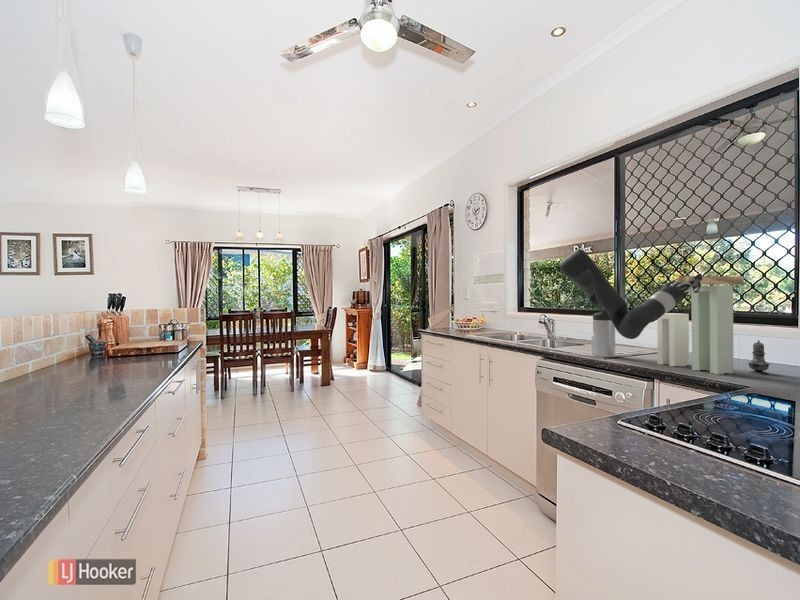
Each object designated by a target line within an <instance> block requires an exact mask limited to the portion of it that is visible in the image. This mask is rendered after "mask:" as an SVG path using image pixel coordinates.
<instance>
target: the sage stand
mask: <svg viewBox="0 0 800 600" xmlns="http://www.w3.org/2000/svg"><path fill="white" fill-rule="evenodd" d="M690 295H691V297H690V298H691V305H690V306H691V370H692V371H694V370H698V371H697V372H701V371H700V370H707V371H709V372H710V373H709V374H711V373H715V374H714V375H717V374H719V375H725V374H724V373H729V374H734V372H735V371H734V362H735V361H734V285H701V288H700V290H699V292H698V293H694V292H693V291H692V292H690Z"/></svg>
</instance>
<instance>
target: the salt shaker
mask: <svg viewBox="0 0 800 600" xmlns="http://www.w3.org/2000/svg"><path fill="white" fill-rule="evenodd" d="M752 348H753V349H752V352H751V353H752V360H751V361H748V362H747V364H748V366H749V368H750V369H751V370H750V371H748V373H749V374H754V375H761V376H762V375H763V376H765V375H767V376H769V375H770V374H769V373H768V372H767V370H768V369H769V367H770V365H771V363H768V362H766V360H765V355H766V352H765V345H764V343H762V342H761V341H760V340H759V339H758V340H757V342H755V343H753V344H752Z"/></svg>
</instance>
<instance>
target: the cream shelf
mask: <svg viewBox="0 0 800 600" xmlns="http://www.w3.org/2000/svg"><path fill="white" fill-rule="evenodd" d="M689 318H690V315H689V313H679V312H677V313H676V312H675V313H674V312H672V313H671V312H667V313H665V314H664V315H662V316H661V317H660V318H659V319H657V320H656V322H657V365H661V364H662V365H663V364H666V365H668V366H669V367H672V366H679V367H687V365H689V366H690V319H689ZM662 365H661V366H662ZM663 366H664V365H663Z"/></svg>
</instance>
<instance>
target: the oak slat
mask: <svg viewBox="0 0 800 600" xmlns="http://www.w3.org/2000/svg"><path fill="white" fill-rule="evenodd" d="M695 276H696V275H690V276H686V275H684V276H683V275H682V276H678V280H679V284H682V283H683V282H685V281H689V280H691V279H692V278H694V277H695ZM701 276H702V278H703V279H702V280H701V281H700V283H701V286H714V285H733V286H734V285H744V284H745V281H744V280H745V278H744V275H741V276H740V275H738V276H737V275H736V276H735V275H734V276H733V275H732V276H731V275H730V276H729V275H728V276H727V275H725V276H724V275H719V276H718V275H716V276H715V275H701ZM691 285H693V284H692V282H691Z"/></svg>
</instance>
